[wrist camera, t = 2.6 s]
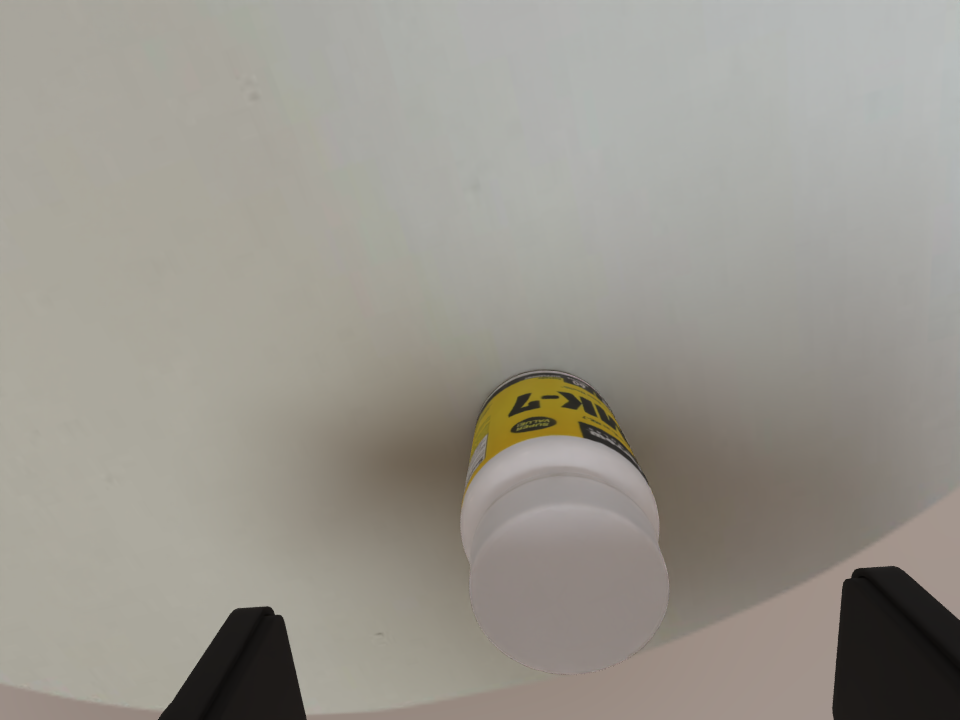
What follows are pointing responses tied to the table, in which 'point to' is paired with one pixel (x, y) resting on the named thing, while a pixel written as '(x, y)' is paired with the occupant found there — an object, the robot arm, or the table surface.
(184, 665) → the table surface
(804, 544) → the table surface
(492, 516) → the supplement bottle
